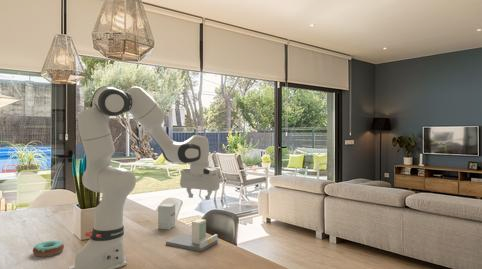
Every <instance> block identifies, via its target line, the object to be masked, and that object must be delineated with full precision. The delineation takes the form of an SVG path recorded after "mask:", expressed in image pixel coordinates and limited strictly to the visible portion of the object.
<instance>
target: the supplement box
mask: <svg viewBox="0 0 482 269" xmlns="http://www.w3.org/2000/svg"><path fill="white" fill-rule="evenodd" d="M157 211H158V212H157V215H158V216H157V219H158V220H157V229H159V230H171V229H172V228H174V227H175V226H176V204H175V203H162V204H160V205H158V209H157Z"/></svg>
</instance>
